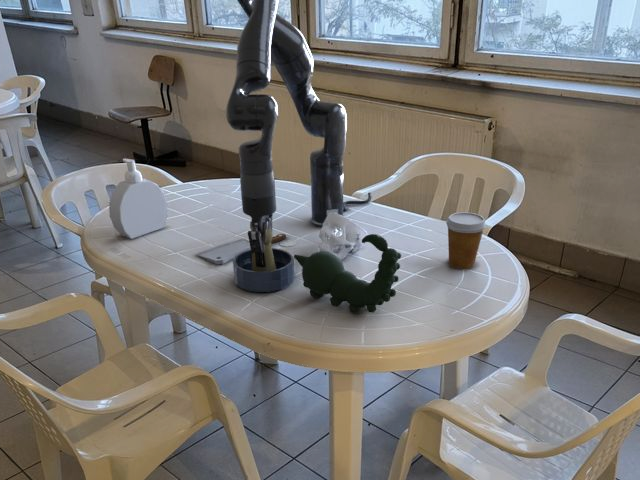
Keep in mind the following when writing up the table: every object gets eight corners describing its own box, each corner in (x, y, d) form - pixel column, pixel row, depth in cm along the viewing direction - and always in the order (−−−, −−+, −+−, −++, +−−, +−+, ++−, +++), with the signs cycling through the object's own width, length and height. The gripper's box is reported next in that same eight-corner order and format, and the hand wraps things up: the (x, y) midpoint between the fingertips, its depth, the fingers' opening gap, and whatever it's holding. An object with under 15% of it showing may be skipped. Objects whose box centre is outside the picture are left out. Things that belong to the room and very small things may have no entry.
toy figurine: (398, 313, 137) (303, 280, 146) (410, 234, 126) (307, 204, 135) (379, 332, 130) (281, 296, 139) (390, 250, 119) (283, 217, 129)
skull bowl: (300, 252, 158) (318, 206, 157) (334, 265, 169) (350, 223, 168) (329, 263, 152) (347, 216, 150) (361, 277, 163) (379, 233, 161)
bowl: (243, 266, 154) (241, 246, 151) (299, 269, 153) (298, 249, 150) (227, 292, 142) (225, 270, 139) (287, 295, 141) (286, 273, 138)
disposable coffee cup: (483, 259, 158) (489, 214, 152) (477, 274, 150) (483, 227, 144) (446, 254, 161) (450, 209, 154) (439, 268, 153) (443, 222, 147)
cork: (251, 268, 149) (248, 224, 143) (276, 267, 149) (274, 223, 143) (250, 278, 144) (247, 234, 138) (276, 277, 144) (274, 233, 138)
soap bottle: (159, 221, 182) (148, 152, 171) (171, 225, 179) (160, 155, 168) (112, 237, 171) (97, 165, 160) (124, 242, 168) (109, 168, 158)
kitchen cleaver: (269, 228, 174) (291, 236, 168) (270, 232, 175) (292, 240, 168) (195, 252, 160) (216, 262, 154) (195, 256, 161) (216, 266, 154)
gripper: (249, 180, 142) (255, 250, 152) (232, 200, 130) (239, 274, 140) (281, 182, 142) (285, 251, 151) (267, 202, 130) (272, 276, 139)
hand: (263, 262), depth 145 cm, fingers closed on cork, 4 cm apart
